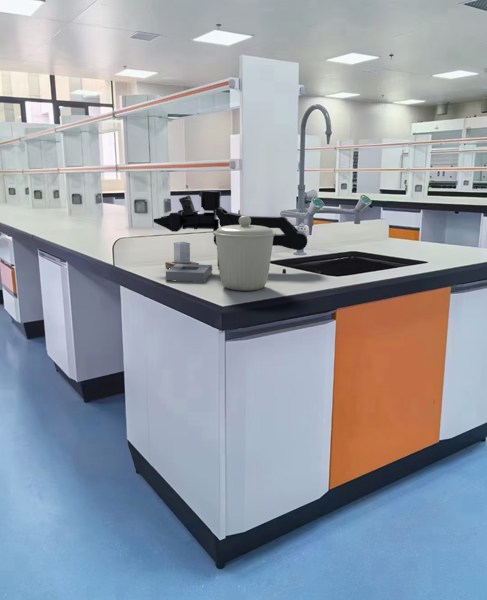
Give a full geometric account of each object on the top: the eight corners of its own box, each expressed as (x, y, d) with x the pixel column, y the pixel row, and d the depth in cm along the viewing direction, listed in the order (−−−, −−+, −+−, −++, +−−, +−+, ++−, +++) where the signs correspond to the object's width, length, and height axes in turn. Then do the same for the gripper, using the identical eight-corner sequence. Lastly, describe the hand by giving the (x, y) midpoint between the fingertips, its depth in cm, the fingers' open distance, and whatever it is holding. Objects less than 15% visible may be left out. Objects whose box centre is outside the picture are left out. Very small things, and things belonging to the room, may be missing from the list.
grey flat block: (211, 273, 175) (211, 264, 175) (203, 282, 162) (203, 272, 161) (176, 272, 177) (176, 263, 176) (165, 280, 163) (165, 271, 162)
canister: (243, 278, 168) (244, 212, 163) (286, 287, 156) (289, 216, 151) (200, 287, 155) (200, 215, 150) (244, 297, 143) (246, 219, 138)
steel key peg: (184, 266, 187) (183, 241, 185) (190, 268, 184) (189, 243, 182) (174, 268, 185) (173, 242, 183) (180, 269, 182) (179, 243, 179)
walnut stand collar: (186, 265, 190) (185, 259, 190) (199, 268, 184) (198, 263, 183) (165, 267, 185) (165, 262, 185) (178, 271, 179) (178, 265, 178)
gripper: (205, 195, 190) (163, 194, 191) (195, 198, 172) (148, 197, 173) (206, 226, 192) (164, 225, 194) (195, 232, 174) (149, 231, 176)
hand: (157, 219), depth 184 cm, fingers open, 9 cm apart
